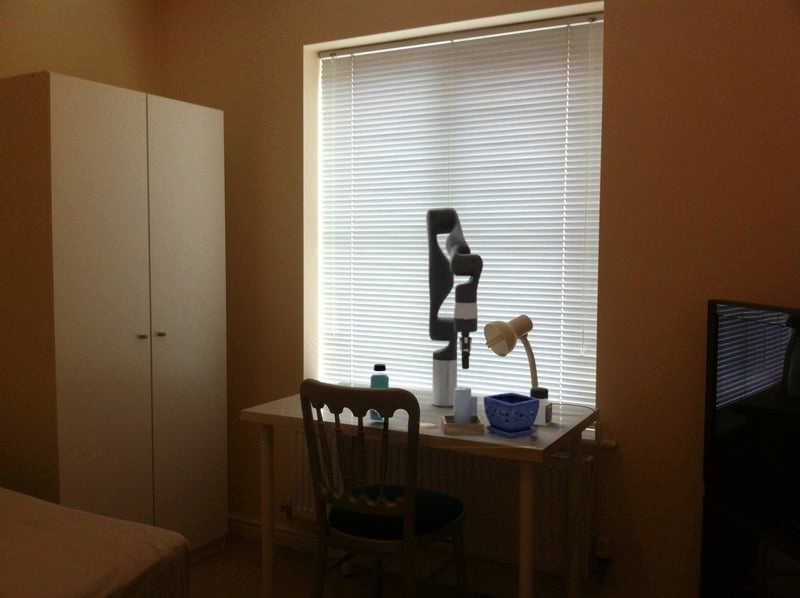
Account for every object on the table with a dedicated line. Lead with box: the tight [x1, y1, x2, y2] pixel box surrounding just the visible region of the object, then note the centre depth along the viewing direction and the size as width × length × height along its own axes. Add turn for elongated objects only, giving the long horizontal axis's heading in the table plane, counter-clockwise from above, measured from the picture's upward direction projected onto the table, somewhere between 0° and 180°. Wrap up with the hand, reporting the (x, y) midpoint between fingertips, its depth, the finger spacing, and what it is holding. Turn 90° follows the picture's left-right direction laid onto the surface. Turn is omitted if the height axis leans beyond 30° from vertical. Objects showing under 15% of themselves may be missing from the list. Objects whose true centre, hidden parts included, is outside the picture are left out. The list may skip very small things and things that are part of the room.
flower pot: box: [483, 392, 540, 439], centre depth 230 cm, size 13×13×12 cm
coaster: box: [406, 422, 438, 431], centre depth 238 cm, size 10×10×1 cm
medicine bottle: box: [529, 386, 553, 427], centre depth 246 cm, size 7×7×12 cm
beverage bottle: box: [369, 363, 390, 422], centre depth 244 cm, size 6×7×20 cm
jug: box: [453, 386, 478, 424], centre depth 235 cm, size 6×8×13 cm
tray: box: [441, 414, 485, 435], centre depth 235 cm, size 13×13×4 cm
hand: (465, 366), depth 234 cm, fingers open, 8 cm apart
